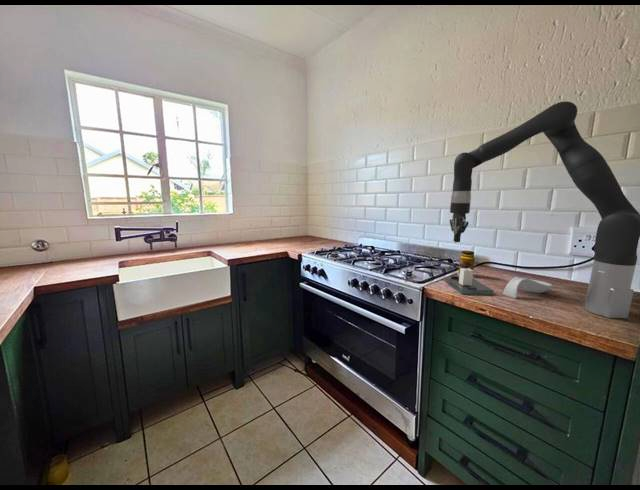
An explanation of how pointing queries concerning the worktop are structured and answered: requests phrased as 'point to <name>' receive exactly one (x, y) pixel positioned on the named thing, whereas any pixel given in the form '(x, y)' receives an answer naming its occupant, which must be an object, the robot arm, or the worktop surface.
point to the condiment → (466, 261)
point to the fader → (466, 276)
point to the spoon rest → (525, 286)
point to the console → (468, 287)
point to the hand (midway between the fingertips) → (456, 241)
